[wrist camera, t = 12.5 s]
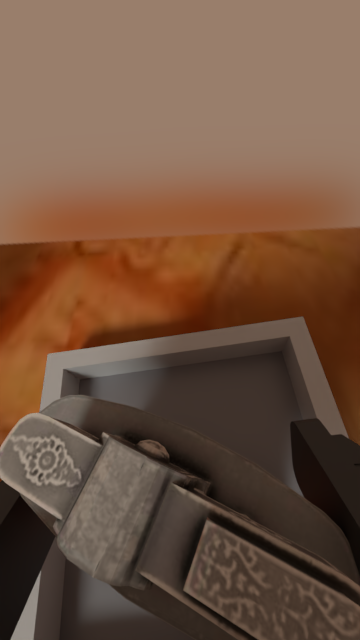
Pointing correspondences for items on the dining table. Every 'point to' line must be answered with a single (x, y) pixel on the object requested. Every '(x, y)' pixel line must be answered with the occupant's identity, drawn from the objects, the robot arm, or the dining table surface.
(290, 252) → the dining table surface
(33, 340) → the dining table surface
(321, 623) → the lighter
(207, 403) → the tray
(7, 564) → the robot arm
